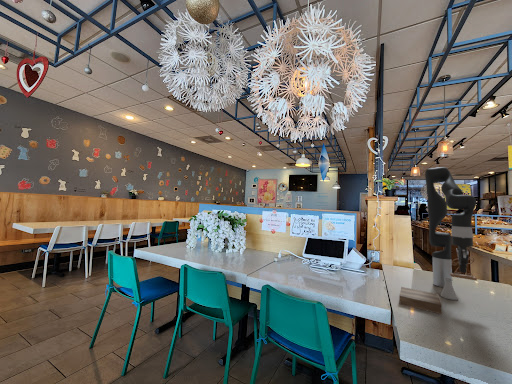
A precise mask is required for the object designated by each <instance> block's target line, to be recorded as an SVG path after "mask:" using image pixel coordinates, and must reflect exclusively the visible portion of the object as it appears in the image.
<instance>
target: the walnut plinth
mask: <svg viewBox="0 0 512 384" xmlns="http://www.w3.org/2000/svg"><path fill="white" fill-rule="evenodd" d="M399 292H400V293H399V305H403V306H407V307H412V308H415V309H420V310H423V311H427V310H428V311H427V312H431V311H432V313H435V312H436V314H439V313H440V314H439V315H443V308H442V302H441V298H440V297H441V296H440V295H439V294H438V293H433V292H428V291H424V290H419V289H414V288H409V287H405V286H404V287H403V286H401V287H400V290H399Z"/></svg>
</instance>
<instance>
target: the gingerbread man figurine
mask: <svg viewBox="0 0 512 384" xmlns="http://www.w3.org/2000/svg"><path fill="white" fill-rule="evenodd" d="M456 256H458V255H457V254H456ZM460 258H461V257H460ZM456 260H457V262H455V261H456ZM458 260H459V259H458V258H455V259H453V260H451V261H452V266H458V267H457V268H456V269H455V271H454V272H452V273H450V275H451V277H452V278H457V279H465V280H470V281H477V280H478V279H477V277H476V276H475V275H473V273H471V271H470V269H468V265H471V264H473V263H474V262H475V258H474V257H472V256H469V257H468V261H472V262H469V263H468V264H467V265H466V271H468V272H469V273H467V272H466V273H464V274H462V272H460V271H458V270H459V269H460V268H459V267H460V266H459V264H460V263H459V261H458ZM464 262H465V261H464Z"/></svg>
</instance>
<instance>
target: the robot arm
mask: <svg viewBox="0 0 512 384" xmlns="http://www.w3.org/2000/svg"><path fill="white" fill-rule="evenodd" d="M424 177H425V178H424V179H425V184H426V190H427V191H426V193H427V213H428V222H429V223H428V224H429V225H428V238H429V239H428V242H429V244H430V246H432V247H436V248H437V247H438V248H444V249H442V250H439V251H434V252H432V255H431V256H432V258H431V259H432V284H433V285H434V286H437V287H441V288H444V285H445V278H450V279H452V280H453V277H451V275H450V273H453V269H452V268H453V267H452V266H453V265H452V264H453V263H452V261H453V260H452V246H457V248H456V249H455V250H456V256H457V255H458V256H457V258H456V259H457V262H459V264H458V267H459V266H460V267H459V268H458V269H459V273H460V272H461V274H462V273H463V274H465V273H466V274H467V271H468V270H467V268H466V265H467V266H468V265H469V264H468V262H469V260H468V258H469V257H470V256H469V253H470V251H469V250H468V249H467V248H472V247H474V237H473V236H474V235H473V229H472V225H473V224H472V218H473V214H474V211H475V208H476V204H477V199H476V198H475V197H474V196H473V195H470V194H464V192H463V190H462V189H461V188H460V187H459V186H458V184H457V183H456V182H455V179H454V178H453V176H452V173H451V171H450V170H449V168H447V167H445V166H440V167H430V168H427V169H426V170H425V172H424ZM436 183H437V184H439V183H442V185H441V188H440V189H441V193H442V194H443V195H444V197H445V199H446V200H445V199H444V197H442V196H441V195H440V193H439V192H437V190H436V188H435V185H434V184H436ZM448 208H450V209H452V210H463V211H462V212H461V213H454V214H453V215H452V216H451V234H450V233H449V232H440V231H436V230H437V227H438V226H439V225H440V223H441V222H442V221H443V220H444V219H445V217H446V216H447V214H448ZM460 257H461V258H460ZM458 259H459V260H458ZM464 261H465V262H464Z"/></svg>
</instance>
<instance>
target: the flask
mask: <svg viewBox="0 0 512 384" xmlns="http://www.w3.org/2000/svg"><path fill="white" fill-rule="evenodd" d="M439 296H440V297H442V298H444V299H446V300H450V301H451V300H452V301H458V300H459V298H458V295H457V294H456V291H455V289H454V286H453V278H452V279H450V278H445V285H444V287H442V290H441V292H440V295H439Z"/></svg>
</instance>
